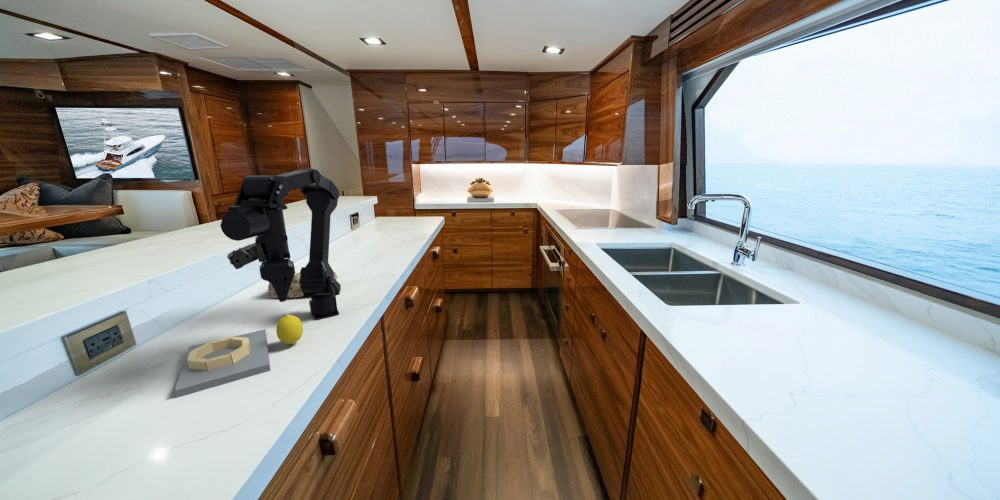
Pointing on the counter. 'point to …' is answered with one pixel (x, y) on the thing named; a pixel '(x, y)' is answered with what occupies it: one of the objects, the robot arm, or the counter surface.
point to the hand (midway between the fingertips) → (281, 295)
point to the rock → (294, 288)
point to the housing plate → (223, 362)
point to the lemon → (289, 329)
